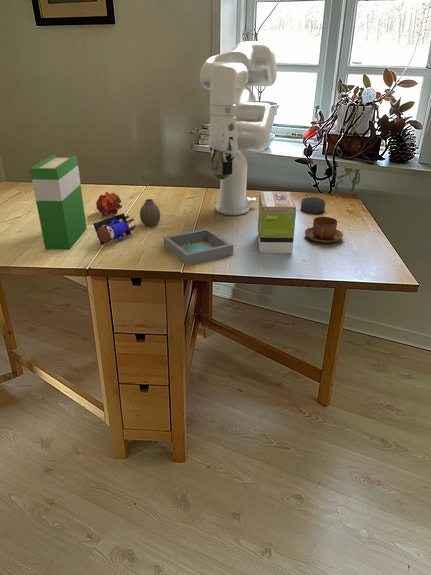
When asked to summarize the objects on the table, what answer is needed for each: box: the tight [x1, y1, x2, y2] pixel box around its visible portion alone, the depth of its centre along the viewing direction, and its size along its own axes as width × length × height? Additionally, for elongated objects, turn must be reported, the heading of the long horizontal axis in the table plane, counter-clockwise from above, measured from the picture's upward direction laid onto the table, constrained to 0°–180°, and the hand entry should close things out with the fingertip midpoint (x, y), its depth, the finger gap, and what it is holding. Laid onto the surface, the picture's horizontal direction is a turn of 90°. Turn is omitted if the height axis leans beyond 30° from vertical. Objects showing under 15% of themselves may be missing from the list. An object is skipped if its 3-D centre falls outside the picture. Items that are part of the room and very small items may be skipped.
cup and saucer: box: [304, 216, 344, 244], centre depth 140 cm, size 12×12×6 cm
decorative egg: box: [211, 150, 229, 180], centre depth 137 cm, size 6×6×10 cm
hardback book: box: [29, 154, 88, 251], centre depth 133 cm, size 18×7×24 cm, turn 178°
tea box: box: [257, 191, 297, 254], centre depth 133 cm, size 15×10×15 cm, turn 178°
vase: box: [139, 198, 161, 228], centre depth 148 cm, size 7×7×9 cm
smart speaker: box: [300, 196, 326, 214], centre depth 165 cm, size 9×9×4 cm
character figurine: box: [92, 213, 137, 245], centre depth 136 cm, size 8×7×15 cm
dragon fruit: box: [95, 191, 123, 217], centre depth 158 cm, size 8×8×12 cm
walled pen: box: [163, 228, 234, 266], centre depth 131 cm, size 15×15×3 cm
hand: (221, 171), depth 138 cm, fingers closed on decorative egg, 6 cm apart
